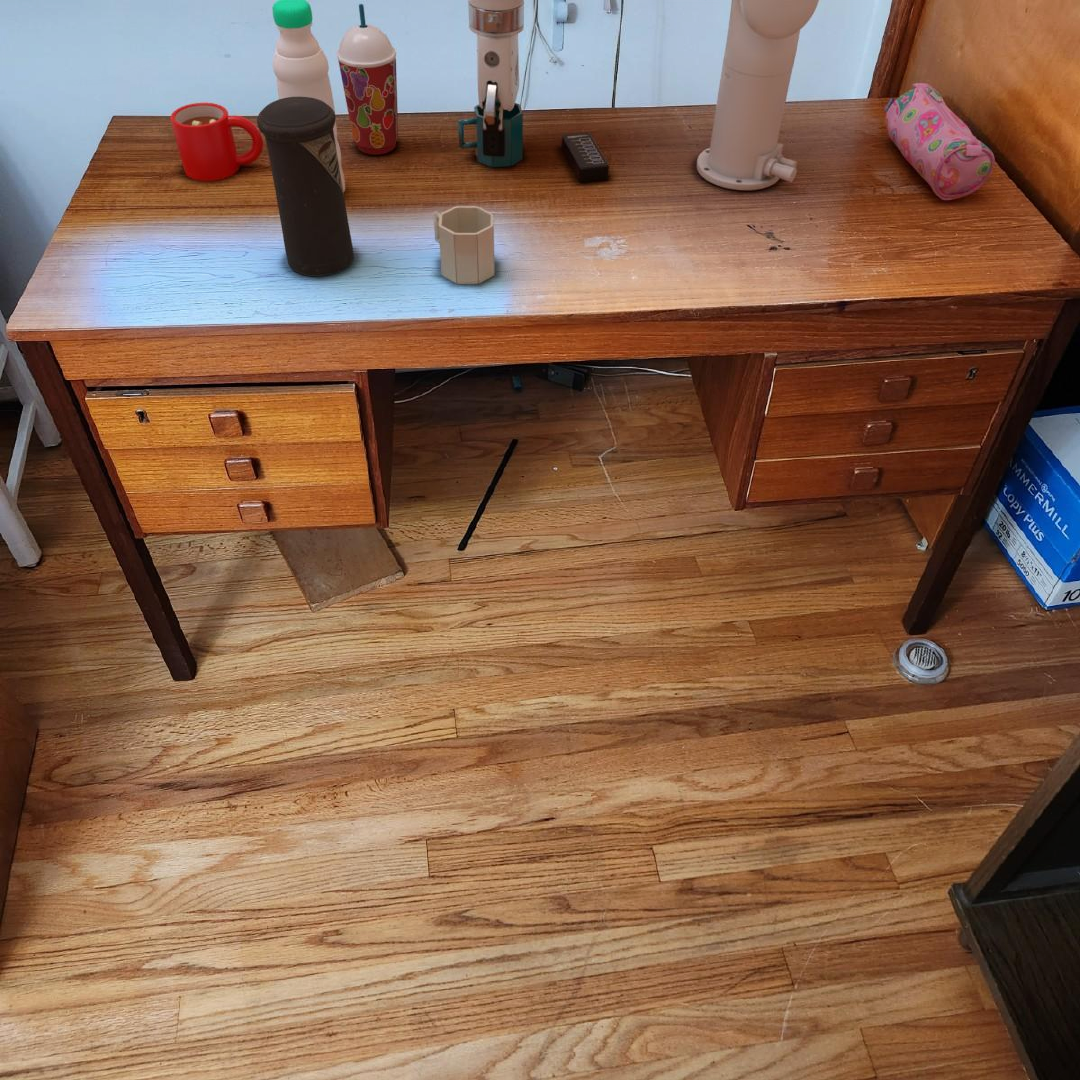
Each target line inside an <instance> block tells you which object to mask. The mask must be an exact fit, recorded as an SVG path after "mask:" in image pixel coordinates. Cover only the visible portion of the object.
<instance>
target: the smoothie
mask: <svg viewBox="0 0 1080 1080" xmlns="http://www.w3.org/2000/svg"><path fill="white" fill-rule="evenodd" d="M358 13H359V20H360V21H359V22H360V24H357V25H354V26H353V27H351V28H349V29H348V30H347V31H346V32H345V34H344V35H343V37H342V39H341V41H340V44H339V48H338V50H337V51H336V58H337V63H338V66H339V72H340V77H341V81H342V88H343V92H344V98H345V104H346V108H347V113H348V119H349V124H350V129H351V134H352V140H353V142H354V143H355V144H356V145H357V148H358V150H359V151H360V152H362V153H364V154H366V155H372V156H377V155H384V154H387V153H390V152H392V151H393V150H394V149H395V148H396V145H397V144H396V143H397V141H398V139H399V114H398V82H397V79H398V77H397V58H396V56H397V49H395V48H394V46H393V45H392V43H391V41H390V39H389V38H388V36H387V34H385V33H384V32H383V31H382V30H381V28H378V27H376V26H374V25H371V24H366V17H365V16H366V15H365V7H364V4H363V3H359V4H358Z"/></svg>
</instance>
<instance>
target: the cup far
mask: <svg viewBox="0 0 1080 1080" xmlns="http://www.w3.org/2000/svg"><path fill="white" fill-rule="evenodd" d="M496 107H501V103H496ZM473 113H474V116H473V117H474V118H463V119H462V118H460V119H458V120H457V131H458V147H459V148H460V149H475V156H476V160H477V162H478V163H480V164H483V165H485V166H489V167H491V168H504V167H513V166H514V165H515V164H518V163H519V162H520V161H522V160H523V156H524V153H523V150H524V147H523V145H524V144H523V143H524V135H523V134H524V132H523V131H524V112H523V109H522V106H521V104H519V103H517V102H515V105H514V108H513V109H512V110H511V111H508V110H504V116H503V129H505V155H504V157H496V156H485V155H483V132H482V128H483V117H484V109H482V108H481V107H480V106H479V104H477V105H475V106H474V107H473ZM495 114H496V115H495V116H496V117H498V119H499V112H495ZM471 125H473V126H474V141H465V127H464V126H471Z"/></svg>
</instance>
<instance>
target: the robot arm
mask: <svg viewBox="0 0 1080 1080" xmlns="http://www.w3.org/2000/svg"><path fill="white" fill-rule="evenodd" d="M819 1H820V0H731V2H730V13H729V20H728V28H727V29H728V30H727V35H726V41H725V47H724V54H723V61H722V67H721V72H720V79H719V86H718V92H717V97H716V98H717V99H716V104H715V111H714V119H713V122H712V123H713V124H712V130H711V137H710V142H709V143H710V144H709V147H708V148H706V149H704V150H703V151H702V152H700V154H699V155H698V157H697V159H696V171H697V173H699V175H700V176H701V177H702V178H703V179H704V180H705V181H707V182H709V183H710V184H713V185H715V186H717V187H721V188H724V189H729V190H736V191H757V190H763V189H765V188H770V187H771V186H774V185H775V184H776V183H777V182H778V181H779V180H780V179H781V180H783V181H785V182H789V183H792V182H793V181H794V180H795V178H796V176H797V173H798V170H797V168H796V167H797V165H798V162H797V161H796V160H793V159H790V158H786V157H784V155H783V154H782V152H783V147H784V144H782V143H779V142H778V140H779V137H780V131H781V126H782V121H783V116H784V111H785V108H786V102H787V97H788V93H789V89H790V83H791V78H792V73H793V68H794V66H795V65H794V64H795V59H796V56H797V50H798V44H799V39H800V33H801V30H802V29H803V28H804V27H805V26H806V25H807V23H808V22H809V21H810V20H811V18H812V17H813V15H814V14H815V12H816V10H817V8H818V5H819ZM467 4H468V5H467V6H468V7H467V8H468V29H469V30H470V31H471V32H472V33H473V34H476V39H477V40H476V64H477V65H476V66H477V68H476V69H477V70H476V71H477V72H476V73H477V98H478V105H479V106H480V107H481V108H482V109H484V117H483V128H482V132H483V155H485V156H496V157H504V155H505V129H503V116H504V110H508V111H511V110H512V109H513V108H514V105H515V103H516V101H517V97H518V92H519V89H520V61H519V60H520V58H519V57H520V56H519V55H520V54H519V34H520V33H522V31H524V28H525V0H468V1H467ZM496 103H501V107H496ZM495 112H499V119H498V117H496V116H495V115H496V114H495Z"/></svg>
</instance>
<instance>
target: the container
mask: <svg viewBox="0 0 1080 1080" xmlns="http://www.w3.org/2000/svg"><path fill="white" fill-rule="evenodd" d="M335 121H336V122H337V117H336V112H335V113H334V110H333V109H332V108H331V107H330V106H329V105H327V104H326V103H325V102H323V101H321V100H318V99H315V98H310V97H288V98H283V99H279V98H278V99H277V100H274V101H272V102H269V103H268V104H267V105H266V106H265V107H263V109H262V110H260V111H259V113H258V115H257V119H256V126H257V128H258V130H259V132H260V133H262V135H263V136H264V139H265V144H266V148H267V153H268V158H269V163H270V164H269V165H270V169H271V175H272V181H273V186H274V192H275V197H276V202H277V203H276V204H277V209H278V213H279V220H280V226H281V232H282V238H283V244H284V245H283V246H284V251H285V255H286V261H287V265H288V266H289V267H290V269H292V271H294V272H296V273H299V274H301V275H303V276H311V277H322V276H329V275H333V274H336V273H340V272H342V271H344V270H345V269H347V268H348V267H349V266H350V265H352V262H353V261H354V259H355V254H354V246H353V241H352V235H351V229H350V224H349V217H348V212H347V207H346V205H347V204H346V199H345V195H344V193H345V192H344V193H343V187H342V181H341V175H340V169H339V163H338V157H337V151H336V144H335V138H334V131H333V127H334V124H335Z"/></svg>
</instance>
